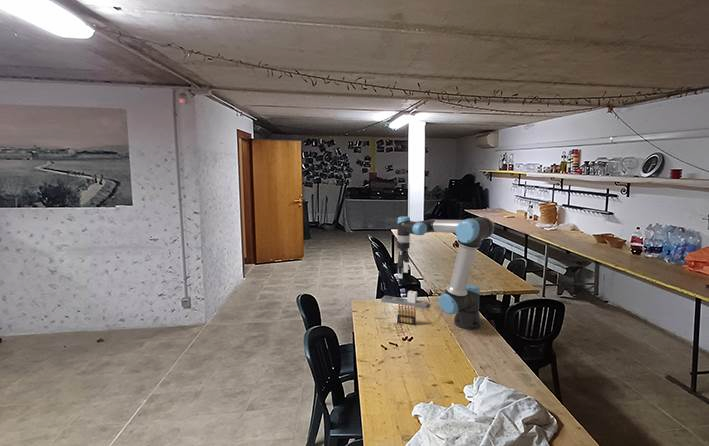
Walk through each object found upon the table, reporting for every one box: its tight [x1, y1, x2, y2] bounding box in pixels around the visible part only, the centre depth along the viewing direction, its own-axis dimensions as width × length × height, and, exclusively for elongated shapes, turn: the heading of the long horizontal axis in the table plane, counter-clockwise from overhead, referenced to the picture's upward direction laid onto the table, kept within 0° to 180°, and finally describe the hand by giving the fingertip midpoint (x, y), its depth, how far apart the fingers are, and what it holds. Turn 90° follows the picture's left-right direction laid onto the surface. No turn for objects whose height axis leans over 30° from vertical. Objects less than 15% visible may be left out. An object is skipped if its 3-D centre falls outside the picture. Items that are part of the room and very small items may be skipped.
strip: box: [380, 295, 430, 309], centre depth 254 cm, size 42×7×4 cm, turn 66°
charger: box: [406, 290, 418, 304], centre depth 253 cm, size 5×4×8 cm
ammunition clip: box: [396, 303, 417, 326], centre depth 226 cm, size 11×2×12 cm, turn 71°
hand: (403, 275), depth 244 cm, fingers open, 13 cm apart
